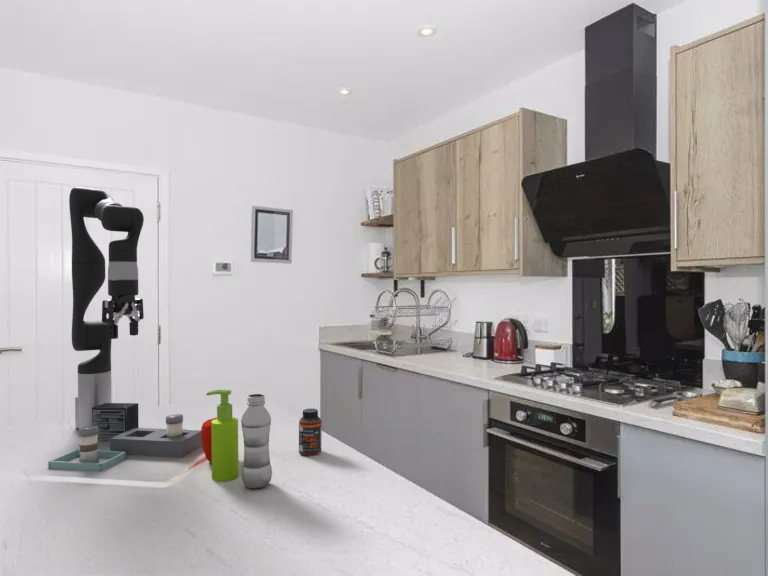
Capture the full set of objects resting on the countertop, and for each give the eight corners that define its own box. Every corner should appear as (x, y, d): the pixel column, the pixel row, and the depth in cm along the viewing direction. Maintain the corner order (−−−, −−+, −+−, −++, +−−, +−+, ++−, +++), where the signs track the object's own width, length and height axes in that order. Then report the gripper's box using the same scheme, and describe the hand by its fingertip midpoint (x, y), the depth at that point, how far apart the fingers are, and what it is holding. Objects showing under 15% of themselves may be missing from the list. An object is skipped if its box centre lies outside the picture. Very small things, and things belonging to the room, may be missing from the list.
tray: (48, 471, 122) (48, 461, 122) (76, 459, 131) (76, 449, 131) (101, 475, 120) (101, 464, 120) (126, 461, 129) (126, 451, 129)
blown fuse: (74, 467, 124) (74, 430, 124) (87, 461, 128) (87, 425, 128) (90, 467, 124) (89, 430, 123) (102, 461, 128) (102, 425, 128)
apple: (233, 466, 125) (232, 422, 125) (196, 467, 125) (196, 423, 125) (240, 454, 134) (240, 413, 134) (206, 455, 134) (206, 414, 133)
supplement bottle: (300, 457, 131) (300, 413, 131) (297, 450, 137) (296, 408, 137) (323, 455, 133) (323, 411, 133) (319, 448, 139) (318, 406, 139)
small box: (140, 438, 149) (140, 402, 149) (126, 445, 142) (126, 407, 142) (106, 437, 150) (105, 401, 150) (91, 444, 143) (90, 407, 143)
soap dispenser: (210, 472, 121) (210, 388, 121) (240, 471, 122) (239, 387, 122) (204, 482, 115) (203, 393, 115) (235, 481, 116) (234, 392, 116)
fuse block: (110, 457, 132) (109, 419, 132) (135, 445, 142) (134, 409, 142) (182, 461, 129) (181, 422, 129) (202, 448, 139) (201, 412, 139)
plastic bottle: (277, 482, 115) (277, 393, 115) (261, 493, 109) (260, 399, 109) (253, 478, 117) (252, 391, 117) (235, 490, 111) (234, 397, 111)
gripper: (127, 278, 150) (128, 334, 150) (92, 278, 136) (93, 339, 136) (151, 278, 148) (151, 334, 149) (118, 278, 134) (119, 340, 134)
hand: (123, 336), depth 142 cm, fingers open, 8 cm apart
